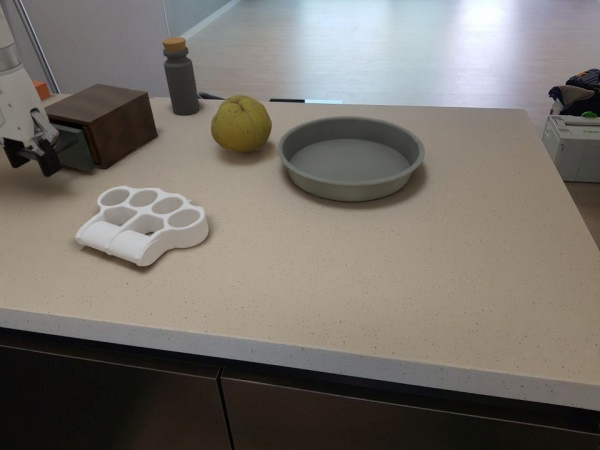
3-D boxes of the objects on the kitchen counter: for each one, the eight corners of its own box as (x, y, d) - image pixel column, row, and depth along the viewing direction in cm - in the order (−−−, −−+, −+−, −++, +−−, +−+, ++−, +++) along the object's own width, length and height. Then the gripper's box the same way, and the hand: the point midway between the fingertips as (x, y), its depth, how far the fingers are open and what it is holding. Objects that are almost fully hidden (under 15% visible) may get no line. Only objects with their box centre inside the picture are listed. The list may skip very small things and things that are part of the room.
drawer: (64, 188, 74) (48, 148, 70) (16, 174, 78) (-2, 136, 74) (142, 139, 88) (133, 102, 84) (98, 129, 92) (87, 94, 88)
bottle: (168, 114, 100) (153, 43, 91) (180, 104, 104) (167, 35, 95) (193, 116, 99) (180, 44, 89) (204, 106, 103) (193, 36, 94)
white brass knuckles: (63, 243, 64) (135, 191, 75) (163, 280, 58) (227, 218, 68) (55, 224, 62) (130, 173, 73) (157, 260, 56) (224, 199, 66)
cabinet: (105, 170, 81) (89, 122, 75) (54, 157, 85) (35, 111, 80) (158, 136, 91) (147, 91, 86) (110, 126, 96) (97, 83, 90)
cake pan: (449, 192, 72) (454, 167, 70) (301, 221, 67) (300, 195, 64) (384, 128, 91) (386, 107, 89) (264, 147, 86) (262, 125, 83)
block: (37, 106, 105) (30, 88, 103) (24, 103, 107) (17, 86, 104) (52, 99, 108) (45, 82, 106) (39, 97, 110) (33, 80, 107)
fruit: (283, 140, 88) (280, 90, 82) (257, 169, 80) (252, 116, 73) (232, 132, 92) (226, 84, 86) (202, 159, 83) (193, 107, 77)
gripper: (-74, 60, 65) (-19, 169, 76) (9, 75, 59) (57, 191, 70) (-25, 46, 70) (20, 149, 81) (55, 58, 64) (93, 168, 75)
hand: (37, 168), depth 75 cm, fingers closed on drawer, 6 cm apart
